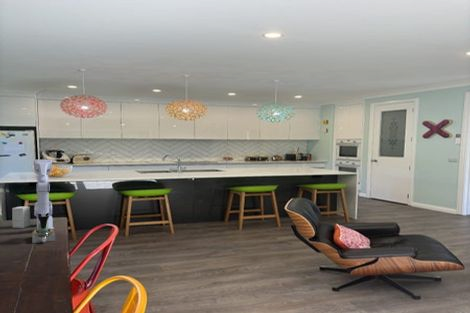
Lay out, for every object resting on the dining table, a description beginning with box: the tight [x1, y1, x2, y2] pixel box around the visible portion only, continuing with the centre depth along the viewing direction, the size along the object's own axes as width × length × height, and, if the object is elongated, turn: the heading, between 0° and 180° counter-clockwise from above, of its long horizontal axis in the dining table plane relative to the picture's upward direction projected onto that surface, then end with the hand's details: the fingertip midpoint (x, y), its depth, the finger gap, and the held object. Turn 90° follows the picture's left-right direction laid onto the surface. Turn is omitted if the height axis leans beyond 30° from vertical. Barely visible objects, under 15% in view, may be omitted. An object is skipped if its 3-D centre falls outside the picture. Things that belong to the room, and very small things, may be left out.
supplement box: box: [11, 206, 31, 229], centre depth 236 cm, size 7×7×13 cm
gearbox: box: [31, 228, 56, 244], centre depth 204 cm, size 20×11×4 cm, turn 29°
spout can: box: [38, 223, 48, 233], centre depth 208 cm, size 5×5×8 cm
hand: (43, 227), depth 208 cm, fingers open, 7 cm apart
